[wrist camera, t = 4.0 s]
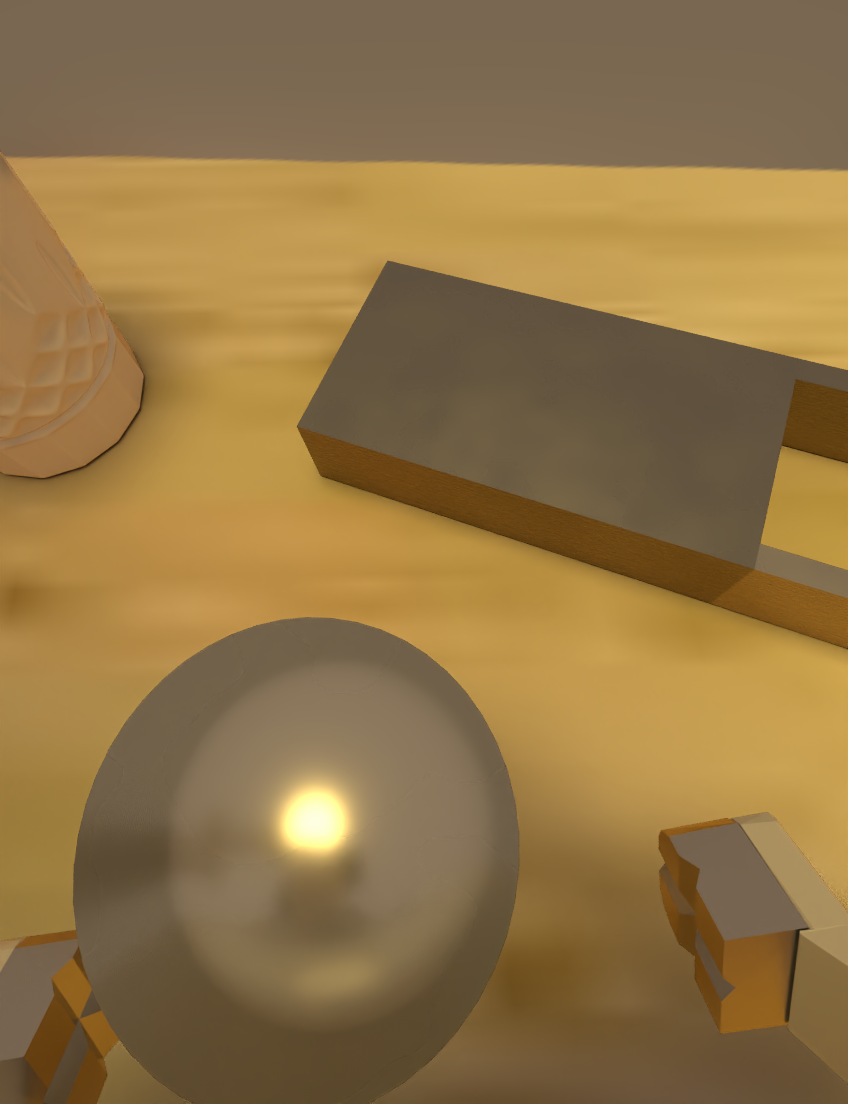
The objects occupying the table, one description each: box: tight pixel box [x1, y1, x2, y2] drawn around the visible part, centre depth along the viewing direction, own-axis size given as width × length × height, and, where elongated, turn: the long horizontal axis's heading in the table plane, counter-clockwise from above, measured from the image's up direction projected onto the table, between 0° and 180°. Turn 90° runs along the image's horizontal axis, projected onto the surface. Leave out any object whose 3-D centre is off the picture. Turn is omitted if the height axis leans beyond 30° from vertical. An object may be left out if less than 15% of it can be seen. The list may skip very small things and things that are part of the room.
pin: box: [73, 617, 519, 1104], centre depth 11 cm, size 4×4×12 cm
